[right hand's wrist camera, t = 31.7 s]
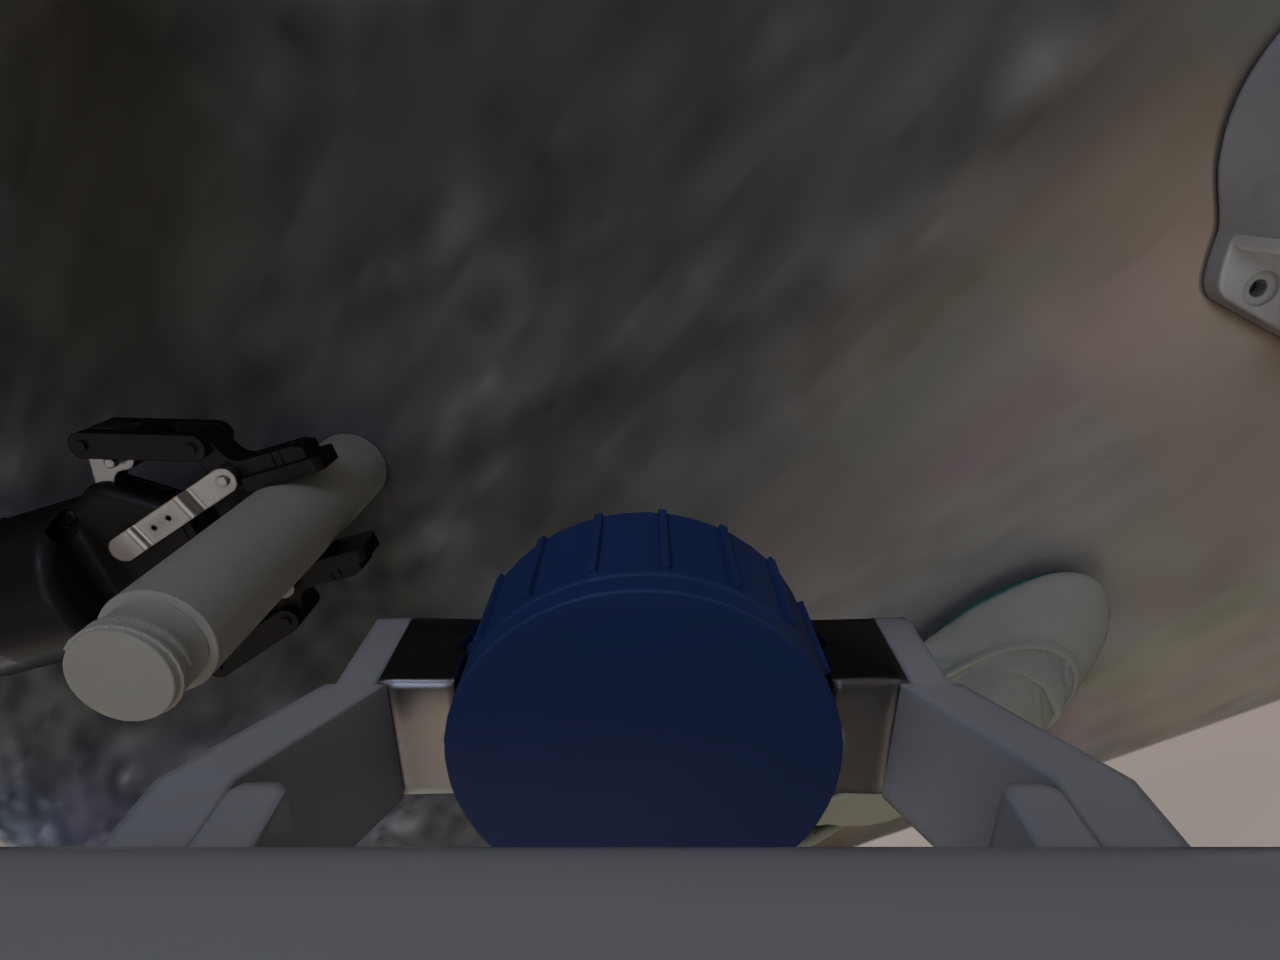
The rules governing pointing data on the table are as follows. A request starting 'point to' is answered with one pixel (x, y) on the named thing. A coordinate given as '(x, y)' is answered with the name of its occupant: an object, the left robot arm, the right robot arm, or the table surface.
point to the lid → (643, 696)
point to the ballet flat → (1006, 664)
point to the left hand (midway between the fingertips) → (348, 501)
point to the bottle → (216, 588)
